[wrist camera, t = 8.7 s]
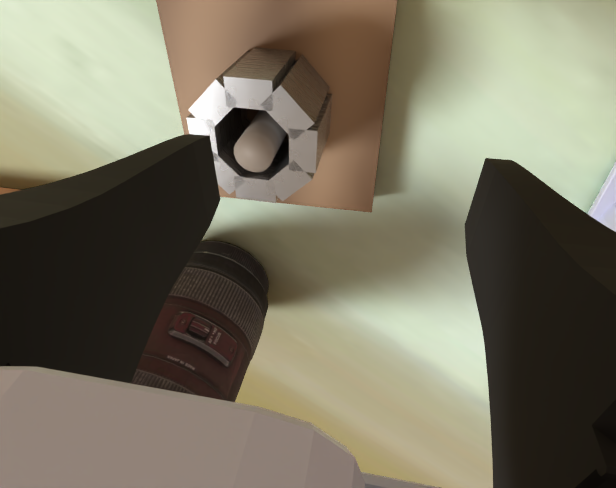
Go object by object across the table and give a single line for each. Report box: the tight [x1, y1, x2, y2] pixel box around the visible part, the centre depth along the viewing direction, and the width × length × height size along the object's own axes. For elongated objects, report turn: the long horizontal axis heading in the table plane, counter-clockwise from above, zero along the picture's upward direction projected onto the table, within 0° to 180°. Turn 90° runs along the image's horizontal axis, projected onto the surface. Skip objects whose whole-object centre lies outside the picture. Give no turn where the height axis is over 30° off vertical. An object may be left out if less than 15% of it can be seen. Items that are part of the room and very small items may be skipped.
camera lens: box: [131, 241, 268, 402], centre depth 24 cm, size 8×8×15 cm
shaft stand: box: [156, 0, 397, 212], centre depth 18 cm, size 10×10×6 cm
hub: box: [187, 47, 332, 203], centre depth 17 cm, size 5×5×4 cm
